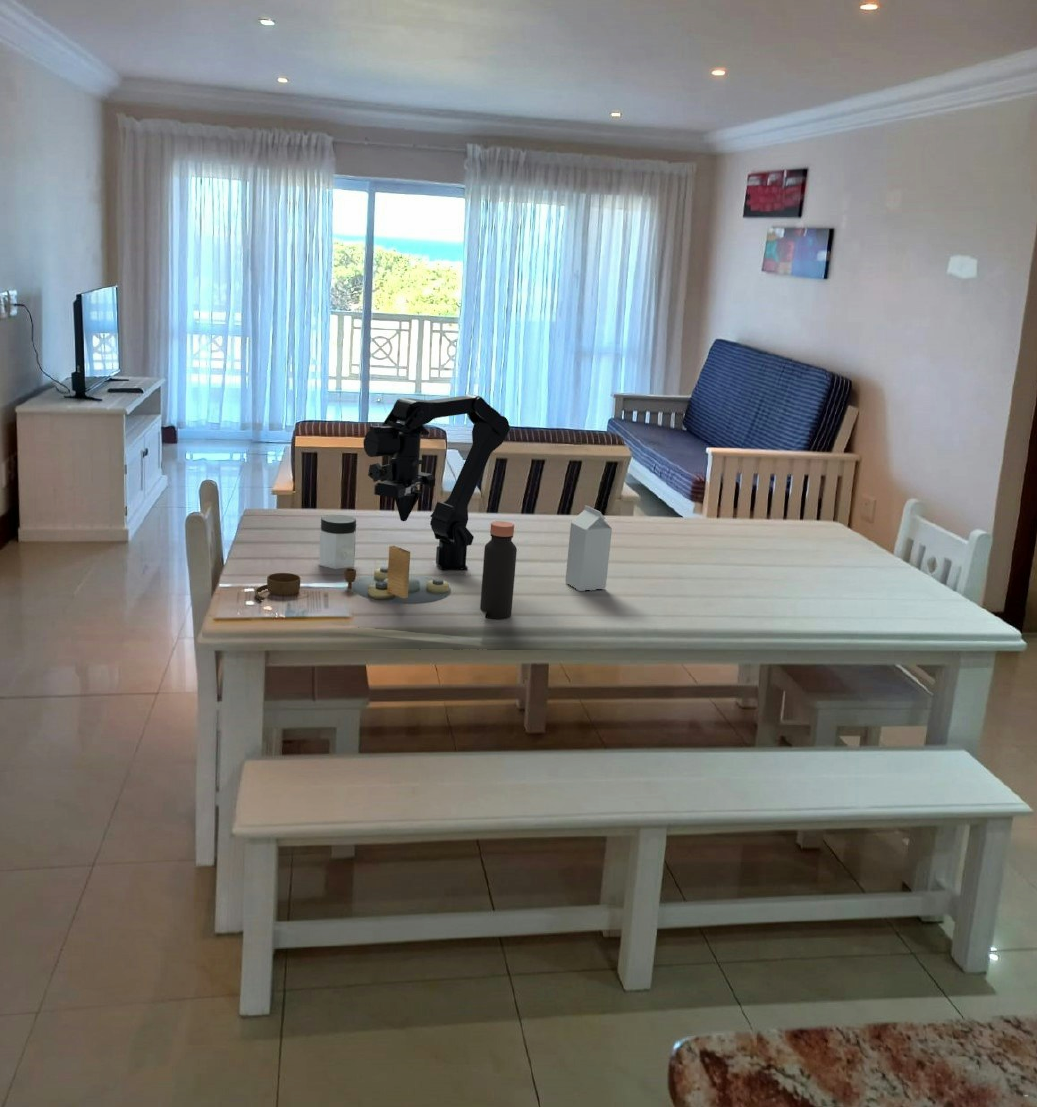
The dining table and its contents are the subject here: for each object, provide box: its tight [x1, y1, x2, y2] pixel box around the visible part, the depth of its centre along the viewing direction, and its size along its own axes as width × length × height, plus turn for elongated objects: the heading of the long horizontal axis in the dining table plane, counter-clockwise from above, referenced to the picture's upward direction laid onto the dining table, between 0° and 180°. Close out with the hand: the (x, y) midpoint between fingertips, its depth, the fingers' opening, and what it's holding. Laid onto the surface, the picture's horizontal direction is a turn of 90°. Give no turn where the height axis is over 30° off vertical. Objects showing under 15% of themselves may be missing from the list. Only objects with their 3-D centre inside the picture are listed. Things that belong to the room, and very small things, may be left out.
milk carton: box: [564, 504, 613, 592], centre depth 255 cm, size 7×7×19 cm
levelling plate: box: [351, 566, 452, 605], centre depth 241 cm, size 22×22×3 cm
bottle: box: [479, 520, 518, 620], centre depth 230 cm, size 7×7×20 cm
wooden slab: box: [367, 545, 411, 600], centre depth 231 cm, size 11×6×12 cm, turn 45°
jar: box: [318, 514, 357, 570], centre depth 254 cm, size 9×8×12 cm
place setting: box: [254, 567, 357, 601], centre depth 232 cm, size 18×20×6 cm
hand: (403, 520), depth 251 cm, fingers closed
